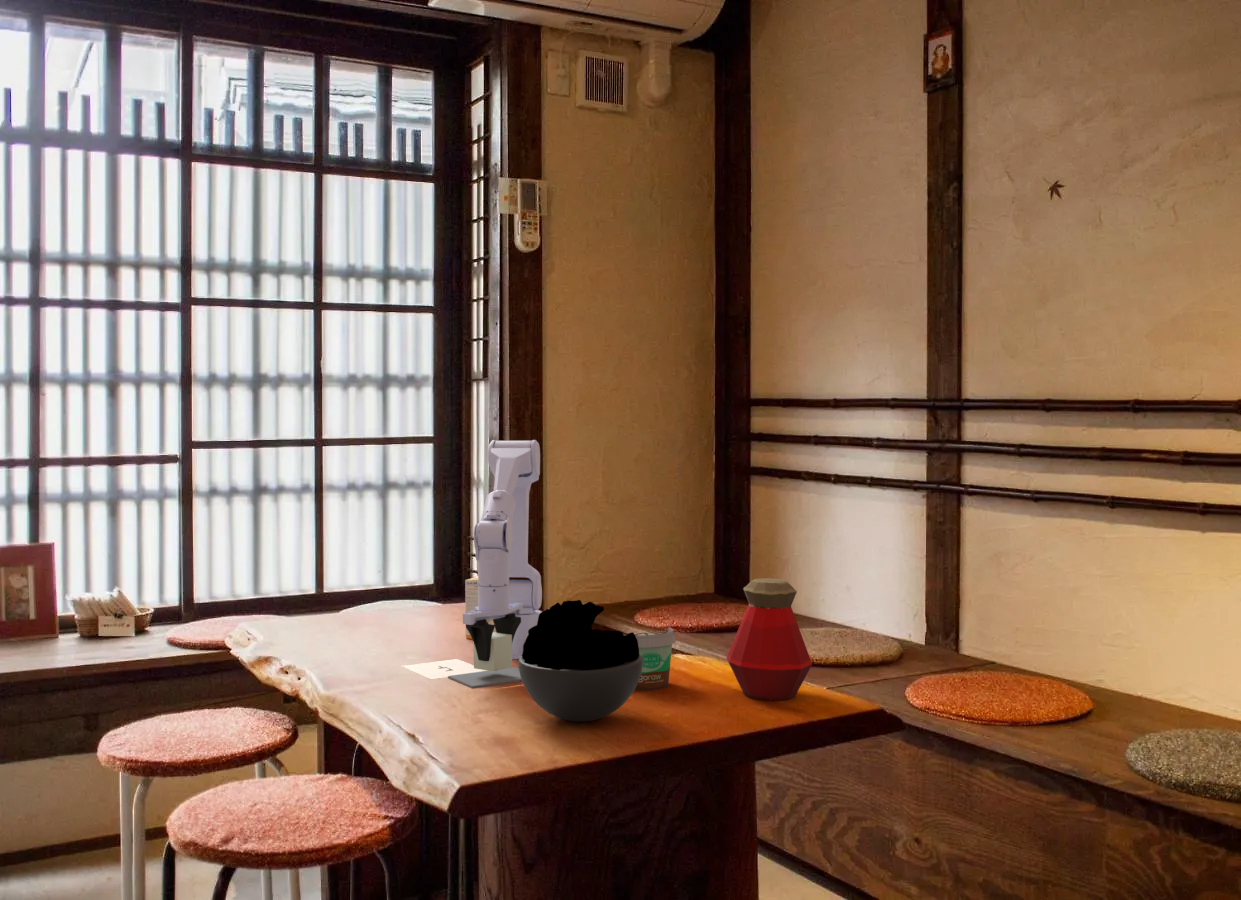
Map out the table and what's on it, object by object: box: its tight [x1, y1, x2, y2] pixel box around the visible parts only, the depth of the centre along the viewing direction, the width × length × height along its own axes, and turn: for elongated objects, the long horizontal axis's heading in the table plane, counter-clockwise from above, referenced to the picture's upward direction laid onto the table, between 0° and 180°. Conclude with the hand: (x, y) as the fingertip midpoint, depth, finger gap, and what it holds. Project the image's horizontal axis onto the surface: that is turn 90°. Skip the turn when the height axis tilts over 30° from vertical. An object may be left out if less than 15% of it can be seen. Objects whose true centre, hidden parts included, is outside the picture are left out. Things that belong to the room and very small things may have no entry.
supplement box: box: [464, 575, 496, 640], centre depth 260 cm, size 8×5×13 cm, turn 168°
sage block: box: [473, 632, 513, 671], centre depth 216 cm, size 5×5×6 cm
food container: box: [623, 626, 677, 692], centre depth 209 cm, size 12×6×10 cm, turn 117°
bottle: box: [726, 577, 813, 702], centre depth 203 cm, size 16×14×20 cm
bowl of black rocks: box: [517, 599, 643, 723], centre depth 186 cm, size 20×20×19 cm
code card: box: [401, 658, 488, 680], centre depth 225 cm, size 12×14×1 cm
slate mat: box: [447, 666, 522, 689], centre depth 216 cm, size 14×10×1 cm
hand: (494, 657), depth 216 cm, fingers closed on sage block, 5 cm apart
